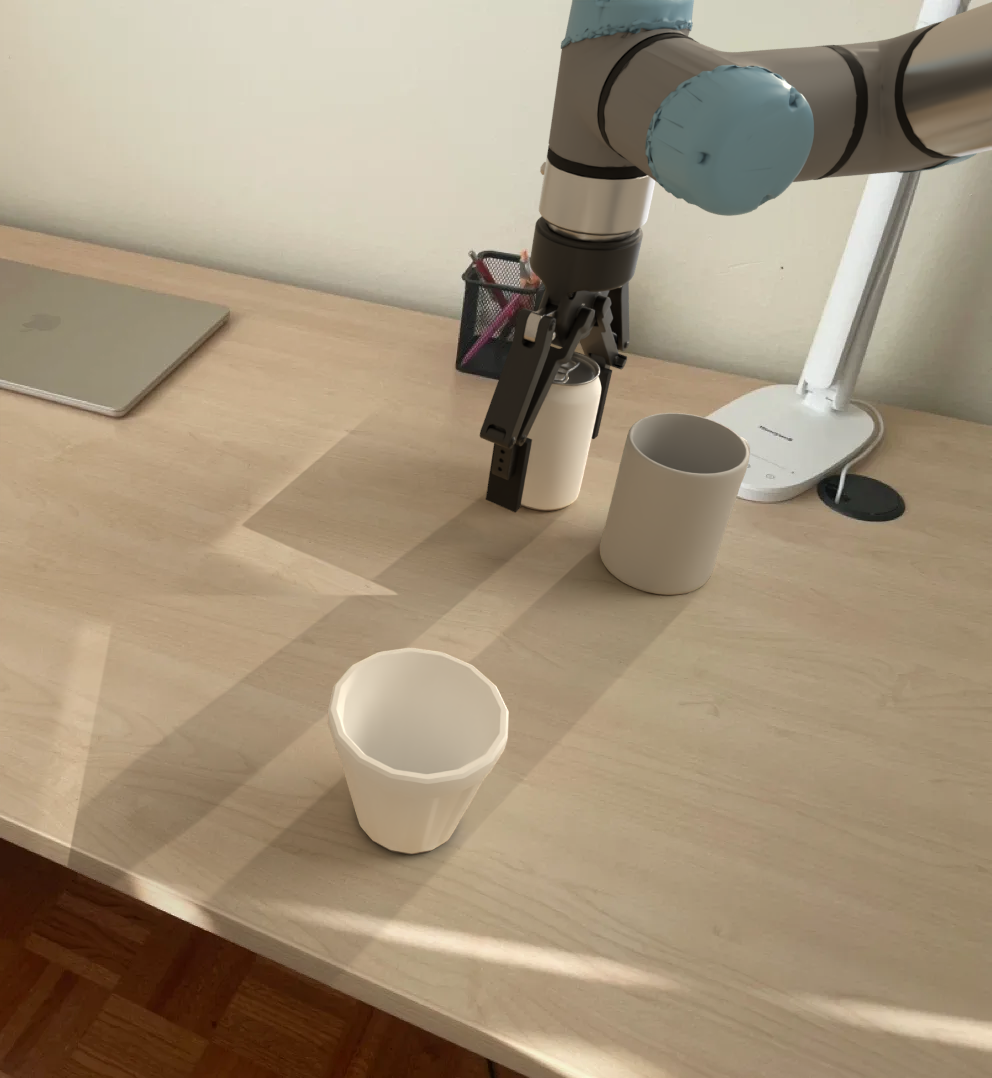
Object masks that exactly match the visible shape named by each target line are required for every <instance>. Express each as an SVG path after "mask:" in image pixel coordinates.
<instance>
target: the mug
mask: <svg viewBox="0 0 992 1078" xmlns="http://www.w3.org/2000/svg"><path fill="white" fill-rule="evenodd" d="M750 456H751V446H750V444H749V442H748V440H747V439H746V438H744V437H743V436H741V435H739V434H738V433H737V432H736V431H734V430H733V429H731V428H729V427H728V426H726V425H725V424H723V423H721V422H718V421H716V420H713V419H711V418H708V417H704V416H700V415H697V414H696V415H695V414H691V413H682V412H661V413H655V414H649V415H647V416H644V417H642V418H640V419H639V420H637V421H635V422H634V423H633V424H632V426H631V427H630V428H629V430H628V432H627V435H626V438H625V441H624V446H623V450H622V455H621V459H620V463H619V468H618V471H617V476H616V480H615V484H614V488H613V492H612V496H611V500H610V504H609V508H608V512H607V516H606V520H605V523H604V528H603V530H602V535H601V538H600V543H599V556H600V560H601V562H602V563H603V565H604V567H605V568H606V569H607V571H608V572H609V573H610V574H612V576H613V577H615V578H616V579H617V580H618V581H620V582H621V583H623V584H625V585H627V586H630V587H632V588H634V589H637V590H639V591H641V592H645V593H650V594H656V595H664V596H674V595H675V596H676V595H683V594H689V593H691V592H694V591H696V590H698V589H699V588H701V587H703V586H704V585H706V583H707V582H708V581H709V579H710V578H711V576H712V574H713V572H714V569H715V566H716V563H717V558H718V556H719V553H720V549H721V546H722V542H723V540H724V538H725V537H724V536H725V533H726V531H727V528H728V524H729V521H730V519H731V515H732V513H733V510H734V507H735V503H736V502H737V501H736V500H737V497H738V494H739V491H740V488H741V485H742V483H743V481H744V477H745V475H746V472H747V469H748V466H749V461H750Z"/></svg>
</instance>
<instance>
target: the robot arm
mask: <svg viewBox="0 0 992 1078" xmlns="http://www.w3.org/2000/svg"><path fill="white" fill-rule="evenodd" d="M694 2H695V0H572V1H571V5H570V11H569V16H568V21H567V26H566V30H565V36H564V38H563V40H562V41H561V42H560V49H561V51H560V59H559V67H558V73H557V74H558V75H557V81H556V88H555V95H554V101H553V107H552V108H553V109H552V116H551V123H550V130H549V137H548V147H547V148H548V149H547V153H546V160H545V161H543V163H542V164H541V166H540V171H539V172H540V174H541V175H542V176H543V179H542V186H541V191H540V197H539V204H538V212H539V214H540V215H541V216H540V217H539V218H538V219H537V220H536V222H535V224H534V225H535V226H534V231H533V239H532V243H531V244H532V245H531V251H530V257H529V266H530V268H531V271H532V272H533V273H534V275H535V276H536V277H537V278H538V279H539V280H540V281H541V282H542V284H543V286H544V287H545V290H544V291H543V295H542V297H541V299H540V301H539V303H538V305H537V308H536V311H534V310H530V309H528V308H526V307H525V308H524V307H523V308H522V309H520V311H519V312H518V315H517V319H516V323H515V328H514V334H513V338H512V342H511V345H510V347H509V350H508V353H507V356H506V358H505V362H504V364H503V367H502V370H501V372H500V375H499V378H498V381H497V384H496V387H495V390H494V392H493V395H492V397H491V400H490V403H489V406H488V409H487V410H486V411H487V412H486V414H485V417H484V420H483V422H482V426H481V428H480V432H479V438H481V439H483V440H485V441H487V442H490V443H492V444H493V449H492V455H491V462H490V469H489V473H488V474H489V476H488V481H487V489H486V494H485V500H486V501H488V502H490V503H492V504H495V505H497V506H499V507H501V508H504V509H506V510H509V511H511V512H513V513H517V512H518V511H519V510H520V509H521V507H522V506H521V500H522V494H523V489H524V483H525V477H526V472H527V466H528V460H529V455H530V449H531V443H532V439H530V438H527V436H528V434H529V432H530V430H531V428H532V425H533V423H534V421H535V419H536V417H537V415H538V413H539V411H540V408H541V406H542V404H543V402H544V400H545V398H546V396H547V394H548V391H549V389H550V387H551V385H552V383H553V381H554V379H555V377H556V374H557V372H558V370H559V368H560V366H561V365H563V364H567V363H568V362H569V361H570V360H571V358H572V355H573V353H574V351H575V352H576V349H577V347H578V345H580V346H581V350H582V352H583V354H584V355H586V356H588V357H590V358H591V359H593V360H594V361H595V362H596V363H597V364H598V366H599V368H600V374H599V376H598V377H599V380H600V383H601V395H600V400H599V405H598V410H597V415H596V420H595V424H594V429H593V433H592V438H591V440H595V439H596V438H597V437H598V436H599V433H600V427H601V424H602V419H603V414H604V410H605V405H606V401H607V396H608V392H609V388H610V383H611V379H612V374H613V369H611V367H612V368H615V369H618V370H623V369H624V367H626V364H627V361H628V356H627V355H624V354H621V353H619V351H621V352H622V353H623V352H626V351H627V349H628V348H629V346H630V289H629V287H630V285H629V284H630V282H631V280H632V279H633V278H634V276H635V274H636V268H637V265H638V260H639V255H640V251H641V247H642V242H643V237H644V232H643V229H642V228H641V227H643V226H644V225H645V224H646V223H647V221H648V220H649V215H650V209H651V204H652V200H653V196H654V190H655V185H656V183H657V184H658V185H659V186H660V187H662V188H663V189H664V190H665V192H667V193H668V194H671V195H672V196H673V197H674V198H675V199H679V200H681V199H682V200H683V201H685V202H686V203H687V204H689V205H692V206H693V205H694V206H696V207H697V208H700V209H701V210H703V211H705V212H707V213H709V214H714V215H718V216H724V217H725V216H726V217H732V216H740V215H745V214H748V213H752V212H753V211H756V210H757V209H758V208H759V207H760V206H762V205H764V204H765V203H767V202H769V201H771V200H773V199H774V200H775V199H776V198H778V197H779V196H781V195H782V194H783V193H784V192H785V191H786V190H787V189H789V187H790V186H791V185H792V183H799V182H801V183H802V182H807V181H818V180H822V179H827V178H841V177H853V176H864V175H876V174H877V175H878V174H886V173H887V174H888V173H889V174H890V173H898V174H906V173H917V172H924V171H931V170H935V169H939V168H943V167H945V166H950V165H955V164H959V163H962V162H965V161H967V160H969V159H970V158H973V157H974V156H976V155H977V154H979V153H984V152H989V151H992V1H991V2H987V3H985V4H982V5H979V6H977V7H974V8H972V9H969V10H966V11H963V12H960V13H957V14H955V15H953V16H950V17H947V18H945V19H944V20H941V21H937V22H934V23H932V24H929V25H926V26H923V27H921V28H920V27H919V28H917V29H914V30H912V31H909V32H907V33H904V34H900V35H898V36H895V37H890V38H887V39H881V40H876V41H865V42H855V43H846V44H845V43H844V44H828V45H827V44H826V45H815V46H805V47H804V46H803V47H787V48H775V49H772V48H771V49H760V50H748V51H722V50H718V49H715V48H713V47H710V46H707V45H706V44H703V43H700V42H699V41H697V40H695V39H694V38H692V37H690V36H689V35H690V32H692V29H693V26H694V25H693V12H694V4H695V3H694ZM553 345H554V346H553ZM555 346H557V347H555ZM558 347H559V348H558Z"/></svg>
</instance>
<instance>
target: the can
mask: <svg viewBox="0 0 992 1078" xmlns="http://www.w3.org/2000/svg"><path fill="white" fill-rule="evenodd" d="M599 374H600V368H599V366H598V364H597V363H596V362H595V361H594V360H593V359H591V358H590V357H588V356H586V355H585V354H584V353H581V352H578V351H576V350H575V351H574V353H573V355H572V358H571V360H570V361H569V362H568V363H567V364H563V365H561V366H560V368H559V370H558V372H557V374H556V377H555V379H554V381H553V383H552V385H551V387H550V389H549V391H548V394H547V396H546V398H545V400H544V402H543V404H542V406H541V408H540V411H539V413H538V415H537V417H536V419H535V421H534V423H533V425H532V428H531V430H530V432H529V434H528V436H527V438H530V439H532V443H531V449H530V455H529V460H528V466H527V472H526V477H525V483H524V489H523V494H522V500H521V506H520V507H523V508H527V509H531V510H535V511H541V512H551V511H558V510H562V509H565V508H567V507H569V506H570V505H572V504H573V503H574V502H575V501H577V499H578V497H579V495H580V491H581V487H582V484H583V480H584V479H583V478H584V474H585V470H586V466H587V461H588V457H589V451H590V446H591V442H592V433H593V429H594V424H595V420H596V415H597V410H598V405H599V400H600V395H601V383H600V380H599V377H598V376H599Z"/></svg>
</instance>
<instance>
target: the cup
mask: <svg viewBox="0 0 992 1078" xmlns="http://www.w3.org/2000/svg"><path fill="white" fill-rule="evenodd" d="M328 703H329V704H328V708H327V725H328V729H329V731H330V735H331V738H332V741H333V744H334V747H335V749H336V751H337V753H338V758H339V760H340V764H341V767H342V771H343V775H344V777H345V781H346V785H347V788H348V792H349V795H350V797H351V801H352V805H353V808H354V811H355V815H356V817H357V818H356V819H357V822H358V824H359V826H360V827H361V829H362V830H363V832H364V833H365V834H366V835H367V836H368V837H369V839H371V840H372V842H373V843H375V844H377V845H379V846H380V847H383V848H384V849H386V850H388V851H390V852H393V853H398V854H405V855H410V856H413V855H417V854H418V855H419V854H423V853H429V852H432V851H433V850H435V849H437V848H438V847H440V846H442V845H444V844H445V843H447V842H448V841H449V840H450V838H451V837H452V835H453V834H454V832H455V830H456V829H457V827H458V825H459V823H460V822H461V820H462V819H463V816H464V815H465V813H466V811H467V809H468V808H469V806H470V805H471V802H473V800H474V797H475V796H476V794H477V792H478V791H479V789H480V787H481V785H482V783H483V782H484V780H485V779H486V777H487V776H489V775H490V774H491V771H493V769H494V767H495V766H496V764H497V762H498V761H499V759H500V758H501V756H502V754H503V753H504V751H505V750H506V747H507V743H508V738H509V715H510V714H509V713H510V712H509V709H508V708H507V707H508V706H507V704H505V701H504V698H503V697H502V695H501V693H500V690H499V689H498V686H497V685H496V684H494V683H493V682H492V681H491V680H490V679H489V678H488V677H487V676H485V674H483V673H482V672H481V671H480V670H479V669H477V667H475V666H474V665H473V664H471V663H468V662H466V661H464V660H462V659H459V658H457V657H455V656H453V655H450V654H448V653H446V652H444V651H437V650H431V649H424V648H417V647H416V648H415V647H404V648H396V649H390V650H389V649H388V650H383V651H378V652H376V653H373V654H371V655H370V656H368V657H365V658H364V659H361V660H359V661H357V662H355V663H353V664H351V665H350V666H349V667H348V668H347V670H346V671H344V673H343V674H342V675H341V676H340V677H339V678H338V680H337V681H336V682H335V683H334V684H333V686H332V690H331V695H330V699H329V702H328Z"/></svg>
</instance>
